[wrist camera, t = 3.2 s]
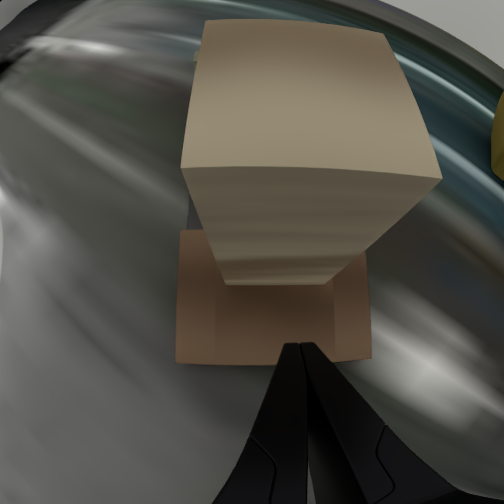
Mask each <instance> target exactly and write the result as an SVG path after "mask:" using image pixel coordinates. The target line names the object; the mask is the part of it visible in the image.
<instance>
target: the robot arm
mask: <svg viewBox="0 0 504 504" xmlns="http://www.w3.org/2000/svg"><path fill="white" fill-rule="evenodd" d="M384 425H385V422H384V421H383V420H382V419H381V418H380V417H379V415H378V414H377V413H376V412H375V411H374V410H373V409H372V408H371V406H370V405H369V404H368V403H367V402H366V401H365V400H364V398H363V397H362V396H361V395H360V394H359V393H358V392H357V390H356V389H355V388H354V387H353V386H352V385H351V384H350V382H349V381H348V380H347V379H346V378H345V377H344V376H343V374H342V373H341V372H340V371H339V370H338V369H337V368H336V366H335V365H334V364H333V363H332V362H331V361H330V360H329V358H328V357H327V356H326V355H325V354H324V353H323V351H322V350H321V349H320V348H319V347H318V346H317V345H316V343H314V342H301V343H297V342H289V343H284V345H283V347H282V350H281V353H280V356H279V359H278V362H277V364H276V367H275V370H274V373H273V375H272V378H271V381H270V383H269V386H268V389H267V391H266V394H265V397H264V399H263V402H262V404H261V407H260V410H259V412H258V415H257V417H256V420H255V422H254V425H253V427H252V430H251V432H250V435H249V438H248V439H247V442H246V444H245V447H244V449H243V451H242V453H241V456H240V458H239V460H238V462H237V464H236V466H235V468H234V469H233V471H232V473H231V475H230V476H229V478H228V480H227V481H226V483H225V485H224V486H223V488H222V489H221V491H220V492H219V494H218V495H217V497H216V498H215V500H214V501H213V502H212V504H307V483H308V463H309V468H310V474H311V479H312V484H313V489H314V495H315V500H316V504H504V500H499V499H493V498H488V497H483V496H478V495H473V494H469V493H466V492H464V491H461V490H459V489H457V488H456V487H454V486H453V485H451V484H450V483H449V482H447V481H446V480H445V479H444V478H443V477H441V476H440V475H439V474H438V473H437V472H435V471H434V470H433V469H432V468H431V467H429V466H428V465H427V464H426V463H425V462H424V461H422V460H421V459H420V458H419V457H418V456H417V455H416V454H415V453H414V452H412V451H411V450H410V449H409V448H408V447H407V446H406V445H405V444H404V443H403V442H402V441H401V440H400V439H399V438H398V437H397V436H396V434H395V433H394V432H393V431H392V430H391V429H390V428H389V427H388V425H385V426H384Z"/></svg>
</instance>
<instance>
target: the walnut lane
mask: <svg viewBox="0 0 504 504" xmlns="http://www.w3.org/2000/svg"><path fill="white" fill-rule="evenodd" d="M198 55H199V51H195V54H194V59H193V64H194V70H196V65H197V60H198ZM289 342H297V343H301V342H314V343H316V345H317V346H318V347H319V348H320V349H321V350H322V351H323V353H324V354H325V355H326V356H327V357H328V358H329V360H330V361H331V362H341V361H353V360H363V359H372V349H371V319H370V301H369V286H368V274H367V263H366V253H365V250H364V251H363V252H362V253H361V254H360V255H359V256H357V257H356V258H355V259H354V260H353V261H352V262H350V263H349V264H348V265H347V266H346V267H344V268H343V269H342V270H341V271H340V272H338V273H337V274H336V275H335V276H334V277H332V278H331V279H330V280H329V281H328V282H326V283H325V284H324V285H226V284H225V282H224V279H223V277H222V275H221V272H220V270H219V267H218V265H217V262H216V260H215V257H214V255H213V252H212V249H211V247H210V244H209V242H208V239H207V237H206V234H205V232H204V229H203V226H202V224H201V221H200V219H199V216H198V213H197V211H196V208H195V206H194V203H193V200H192V198H191V195H190V203H189V216H188V230H181V233H180V247H179V263H178V281H177V306H176V355H175V363H184V364H207V365H276V364H277V362H278V359H279V356H280V353H281V350H282V347H283V345H284V343H289Z"/></svg>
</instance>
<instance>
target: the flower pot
mask: <svg viewBox="0 0 504 504" xmlns="http://www.w3.org/2000/svg"><path fill="white" fill-rule="evenodd" d="M491 169H492V171H493V173H494V174H495V175H497V176H498V177H499V178H500V179H502V180H503V181H504V92H503V94H502V96H501V98H500V100H499V103H498V105H497V108H496V112H495V116H494V121H493V126H492V133H491Z"/></svg>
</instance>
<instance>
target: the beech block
mask: <svg viewBox="0 0 504 504" xmlns="http://www.w3.org/2000/svg"><path fill="white" fill-rule="evenodd" d="M181 171H182V173H183V176H184V179H185V182H186V184H187V187H188V190H189V192H190V195H191V198H192V200H193V203H194V206H195V208H196V211H197V213H198V216H199V219H200V221H201V224H202V226H203V229H204V232H205V234H206V237H207V239H208V242H209V244H210V247H211V249H212V252H213V255H214V257H215V260H216V262H217V265H218V267H219V270H220V272H221V275H222V277H223V279H224V282H225V284H226V285H324V284H325V283H326V282H328V281H329V280H330V279H331V278H332V277H334V276H335V275H336V274H337V273H338V272H340V271H341V270H342V269H343V268H344V267H346V266H347V265H348V264H349V263H350V262H352V261H353V260H354V259H355V258H356V257H357V256H359V255H360V254H361V253H362V252H363V251H364V250H366V249H367V248H368V247H369V246H370V245H371V244H373V243H374V242H375V241H376V240H377V239H378V238H379V237H381V236H382V235H383V234H384V233H385V232H386V231H387V230H388V229H390V228H391V227H392V226H393V225H394V224H395V223H396V222H397V221H398V220H399V219H401V218H402V217H403V216H404V215H405V214H406V213H407V212H408V211H409V210H410V209H411V208H413V207H414V206H415V205H416V204H417V203H418V202H419V201H420V200H421V199H422V198H423V197H424V196H425V195H426V194H427V193H428V192H429V191H431V190H432V189H433V188H434V187H435V186H436V185H437V184H438V183H439V182H440V181H441V180H442V175H441V172H440V168H439V165H438V161H437V158H436V155H435V152H434V149H433V146H432V143H431V140H430V137H429V134H428V131H427V129H426V126H425V123H424V121H423V118H422V115H421V113H420V110H419V108H418V105H417V103H416V100H415V98H414V96H413V93H412V91H411V89H410V86H409V84H408V82H407V80H406V78H405V75H404V73H403V71H402V69H401V67H400V65H399V63H398V61H397V59H396V57H395V55H394V53H393V51H392V49H391V47H390V45H389V43H388V42H387V40H386V38H385V36H384V34H382V33H377V32H372V31H367V30H362V29H357V28H351V27H345V26H338V25H331V24H323V23H314V22H304V21H291V20H272V19H227V20H207V21H206V22H205V27H204V31H203V36H202V40H201V45H200V50H199V55H198V60H197V65H196V70H195V76H194V81H193V87H192V92H191V98H190V104H189V111H188V117H187V124H186V130H185V137H184V144H183V152H182V160H181Z"/></svg>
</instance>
